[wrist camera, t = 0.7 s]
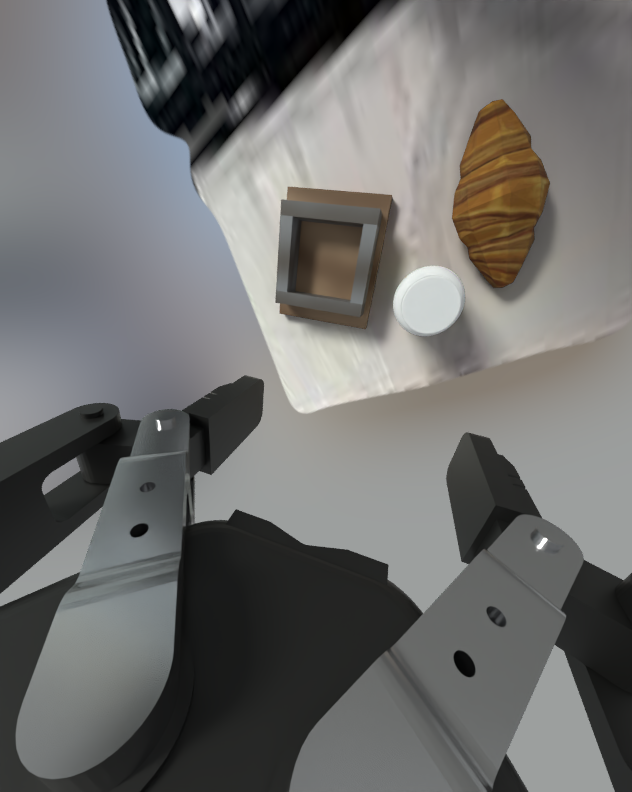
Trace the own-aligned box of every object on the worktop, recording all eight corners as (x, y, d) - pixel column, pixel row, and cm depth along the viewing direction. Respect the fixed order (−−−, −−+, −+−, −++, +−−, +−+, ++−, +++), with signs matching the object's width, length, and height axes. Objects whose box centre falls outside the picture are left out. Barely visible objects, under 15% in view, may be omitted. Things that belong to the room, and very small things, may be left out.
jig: (291, 189, 28) (277, 178, 25) (392, 197, 26) (390, 187, 23) (282, 312, 33) (270, 316, 30) (366, 327, 31) (361, 333, 28)
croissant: (437, 134, 23) (445, 101, 19) (534, 88, 21) (569, 39, 17) (457, 297, 28) (467, 302, 23) (540, 275, 25) (569, 276, 21)
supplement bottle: (461, 306, 28) (486, 320, 19) (409, 333, 30) (411, 356, 21) (438, 255, 26) (454, 246, 18) (386, 287, 29) (378, 292, 20)
